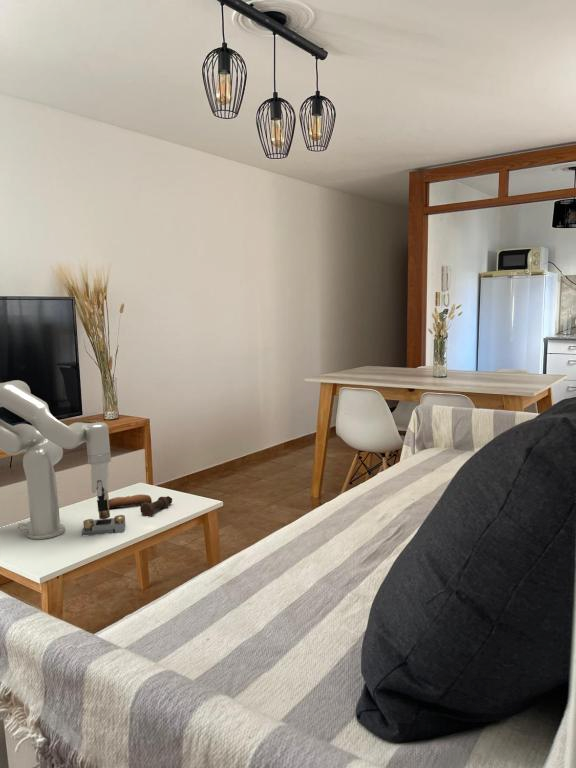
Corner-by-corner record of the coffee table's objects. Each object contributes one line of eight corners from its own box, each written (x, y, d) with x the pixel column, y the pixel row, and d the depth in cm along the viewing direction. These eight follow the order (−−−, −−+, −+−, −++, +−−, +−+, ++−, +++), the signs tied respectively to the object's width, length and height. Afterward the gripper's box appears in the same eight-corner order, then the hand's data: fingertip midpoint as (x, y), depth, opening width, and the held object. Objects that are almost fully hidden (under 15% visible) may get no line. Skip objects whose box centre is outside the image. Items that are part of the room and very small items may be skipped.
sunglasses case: (150, 498, 242) (150, 487, 238) (152, 511, 237) (152, 500, 233) (104, 503, 237) (103, 492, 233) (105, 517, 231) (104, 505, 228)
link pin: (97, 520, 204) (94, 483, 203) (98, 515, 208) (95, 480, 207) (110, 518, 205) (107, 482, 203) (111, 514, 209) (108, 479, 208)
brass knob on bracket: (82, 536, 203) (81, 523, 202) (84, 528, 209) (84, 516, 209) (124, 531, 205) (123, 519, 205) (126, 524, 212) (125, 513, 212)
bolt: (171, 509, 234) (147, 520, 220) (162, 501, 236) (138, 512, 222) (177, 497, 232) (153, 507, 219) (167, 490, 234) (143, 500, 220)
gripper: (91, 453, 212) (95, 502, 214) (84, 465, 195) (89, 518, 198) (112, 451, 213) (117, 500, 215) (108, 462, 197) (112, 515, 199)
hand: (103, 508), depth 206 cm, fingers closed on link pin, 3 cm apart
